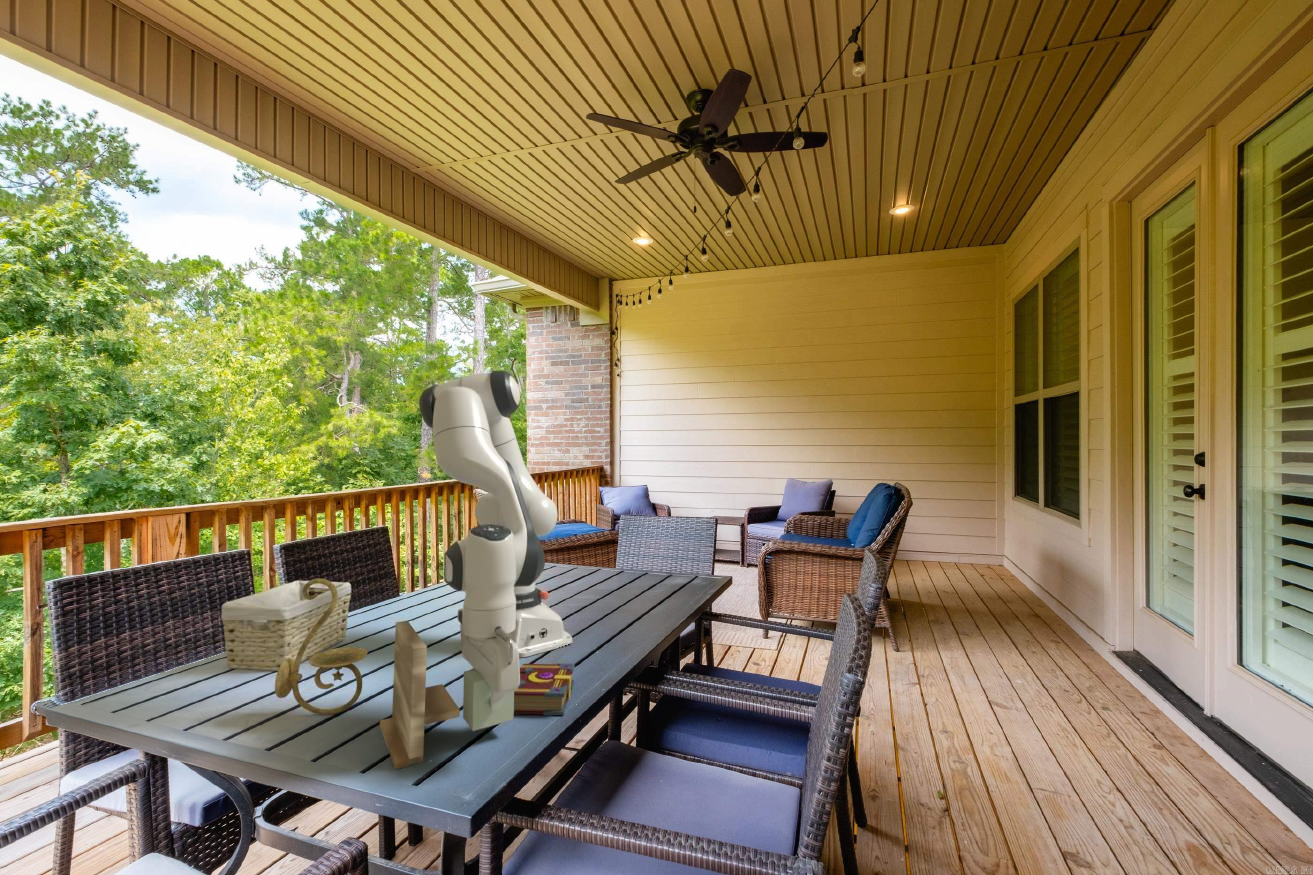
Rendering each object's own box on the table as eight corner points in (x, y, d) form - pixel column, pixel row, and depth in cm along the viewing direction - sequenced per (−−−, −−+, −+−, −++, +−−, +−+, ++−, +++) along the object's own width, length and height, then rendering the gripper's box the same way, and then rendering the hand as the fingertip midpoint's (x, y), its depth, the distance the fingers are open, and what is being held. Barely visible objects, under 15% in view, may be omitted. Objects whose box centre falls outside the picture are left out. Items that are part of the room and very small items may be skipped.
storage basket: (283, 675, 120) (286, 606, 121) (213, 671, 122) (216, 603, 122) (352, 639, 144) (355, 581, 145) (293, 636, 146) (296, 579, 146)
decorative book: (503, 716, 104) (504, 689, 105) (522, 681, 121) (523, 658, 121) (564, 717, 105) (564, 690, 105) (575, 682, 121) (576, 658, 121)
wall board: (438, 712, 105) (441, 615, 105) (461, 751, 92) (465, 640, 92) (379, 725, 99) (383, 623, 100) (395, 769, 86) (399, 651, 87)
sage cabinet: (507, 705, 102) (508, 650, 102) (518, 717, 97) (519, 660, 98) (463, 717, 97) (464, 659, 97) (472, 730, 93) (473, 670, 93)
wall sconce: (268, 728, 97) (274, 584, 98) (296, 704, 107) (301, 573, 107) (353, 725, 99) (358, 584, 100) (373, 701, 109) (377, 572, 109)
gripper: (530, 633, 91) (529, 719, 90) (488, 603, 107) (487, 675, 107) (492, 641, 87) (490, 730, 87) (454, 608, 104) (453, 683, 104)
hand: (488, 699), depth 97 cm, fingers closed on sage cabinet, 5 cm apart
